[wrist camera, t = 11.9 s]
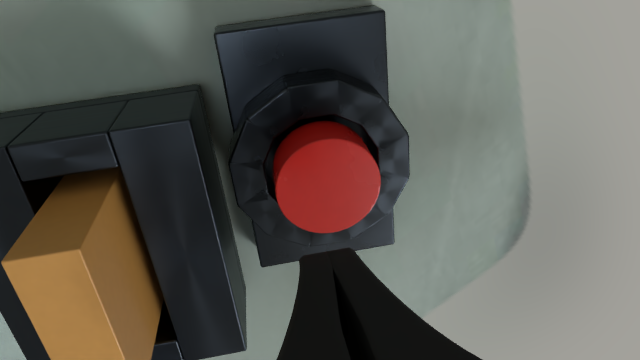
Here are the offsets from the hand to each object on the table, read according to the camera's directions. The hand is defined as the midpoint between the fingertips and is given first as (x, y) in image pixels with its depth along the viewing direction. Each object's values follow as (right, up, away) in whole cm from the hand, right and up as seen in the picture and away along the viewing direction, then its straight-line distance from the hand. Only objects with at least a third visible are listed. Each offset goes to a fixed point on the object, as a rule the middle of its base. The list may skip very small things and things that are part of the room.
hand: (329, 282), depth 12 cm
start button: (0, +3, +5) cm, 6 cm away
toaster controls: (-1, +4, +8) cm, 9 cm away
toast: (-8, +1, +7) cm, 11 cm away
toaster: (-8, +1, +8) cm, 11 cm away
